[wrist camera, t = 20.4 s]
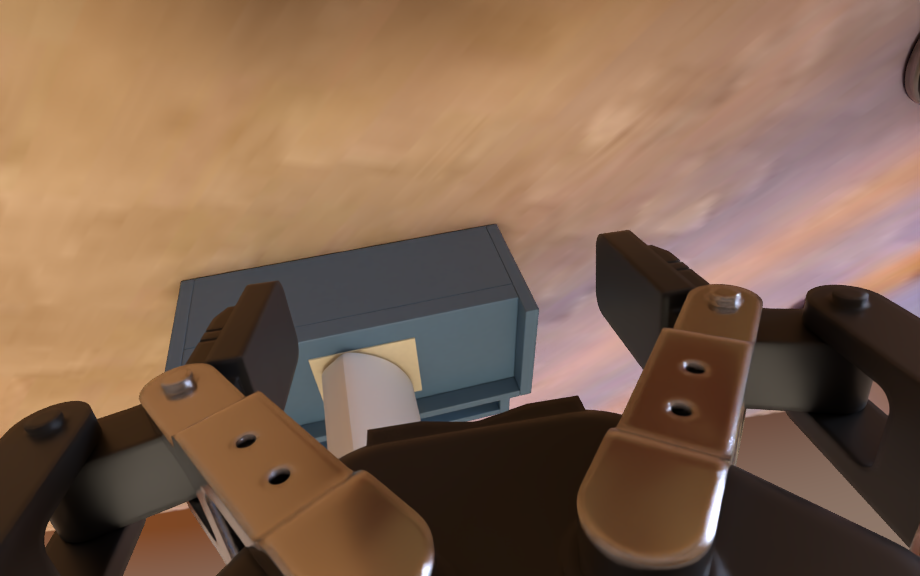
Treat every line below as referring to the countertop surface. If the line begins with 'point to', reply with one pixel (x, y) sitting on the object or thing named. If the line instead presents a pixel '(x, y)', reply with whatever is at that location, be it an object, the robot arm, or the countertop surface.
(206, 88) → the countertop surface
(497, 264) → the shelf
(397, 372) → the eye dropper bottle
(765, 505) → the robot arm
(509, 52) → the countertop surface
